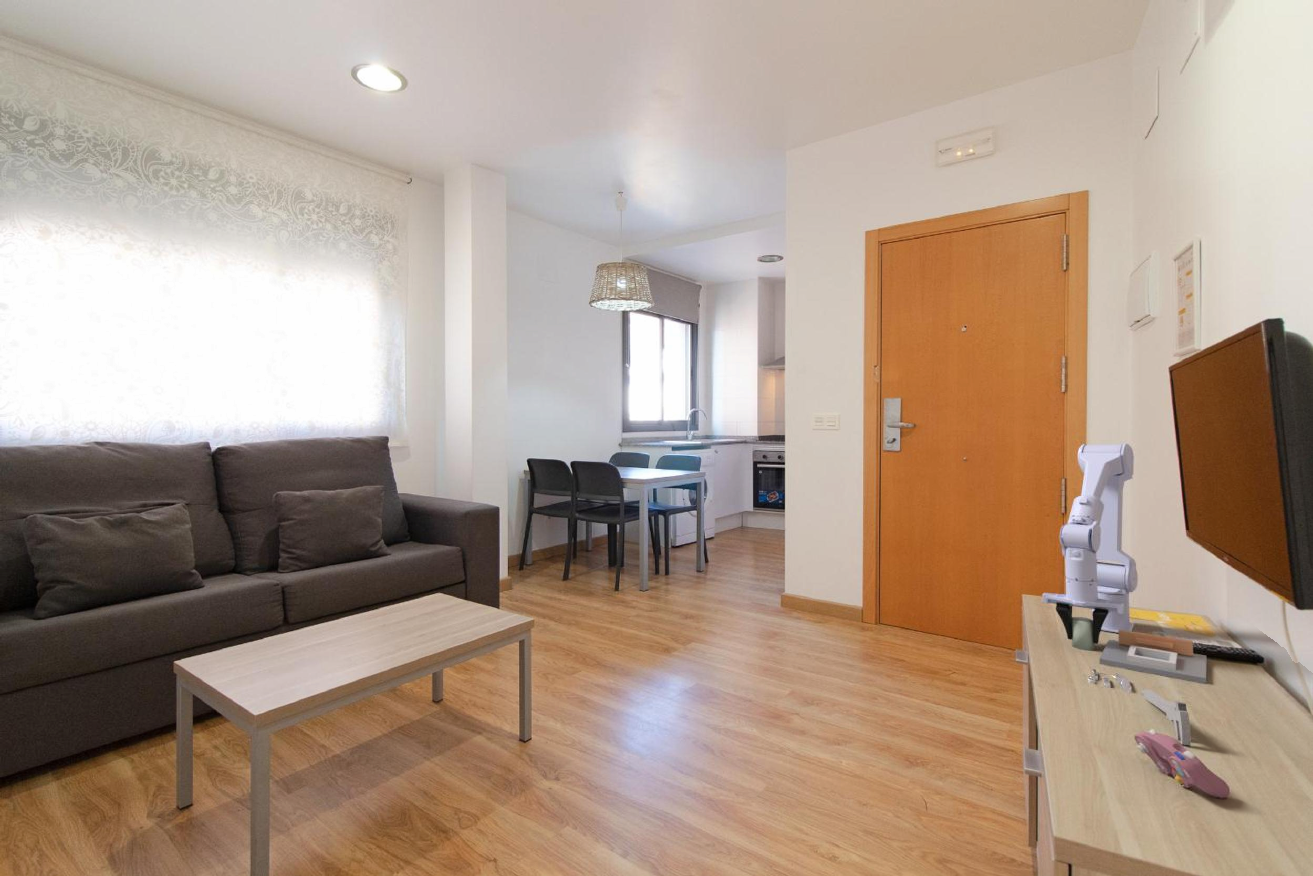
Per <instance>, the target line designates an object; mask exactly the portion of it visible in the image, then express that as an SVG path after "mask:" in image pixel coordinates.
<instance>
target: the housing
mask: <svg viewBox="0 0 1313 876" xmlns="http://www.w3.org/2000/svg"><path fill="white" fill-rule="evenodd" d="M1207 659H1208V658H1207V655H1204V654H1198V653H1194V652H1193V656H1189V655H1183V654H1177V653H1174V652H1168V651H1162V650H1156V649H1150V648H1144V647H1138V646H1132V645H1131V646H1129V645H1123V644H1119V640H1113V639H1108V640H1107V643H1106V644H1105V647H1104V649H1103V651H1102V653H1101V655H1100V657H1099V664H1100V665H1104V666H1111V667H1116V668H1121V669H1126V670H1132V671H1136V672H1141V673H1147V674H1152V675H1157V676H1163V677H1167V678H1174V679H1179V680H1182V681H1183V680H1184V681H1189V682H1195V683H1198V684H1199V683H1200V684H1205V685H1206V684H1207V665H1208V664H1207V661H1208V660H1207Z"/></svg>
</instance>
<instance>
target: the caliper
mask: <svg viewBox="0 0 1313 876" xmlns="http://www.w3.org/2000/svg"><path fill="white" fill-rule="evenodd" d="M1140 693H1141V694H1142V695H1143V697H1144V699H1145V700H1147V701H1148V702H1149V703H1150V704H1152V705H1154V706H1155V707H1157V708H1158V709H1160V710H1161V711H1162V712H1164V713H1165V714H1166V719H1167V720H1169V721H1170V722H1173V725H1174V730H1175V731H1174V732H1175V736H1176V740H1177V741H1179V742H1180V743H1181V744H1182V745H1183V746H1188V747H1189V746H1191V744H1192V743H1191V742H1192V741H1191V739H1192V738H1191V723H1190V716H1189V711H1187V703H1185V702H1183V701H1180V700H1174V702H1173V701H1168V700H1166V699H1164V698H1163V697H1162V696H1160V695H1159V694H1157V693H1155V692H1154V691H1152V690H1151V689H1146V688H1142V690H1141V691H1140Z"/></svg>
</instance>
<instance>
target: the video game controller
mask: <svg viewBox="0 0 1313 876" xmlns="http://www.w3.org/2000/svg"><path fill="white" fill-rule="evenodd" d="M1133 738H1134V740H1135V742H1136V746H1137V749H1138V751H1140V753H1142V754H1144V755H1145V754H1146V755H1147V757H1148V758H1150V759H1151V760H1152V761H1153V763H1154V764H1155V767H1157V768H1158V770H1159V771H1161V772H1162V771H1163V772H1164V773H1163V772H1162V773H1163V774H1165V775H1166V774H1167V775H1170V774H1172V776H1173V777H1174V779H1175V781H1176V782H1177V783H1179V785H1181V784H1182V785H1184V786H1185V787H1187V788H1186V789H1189V788H1191V787H1193V786H1195V787H1197V788H1198V789H1200V790H1201V791H1203V792H1204V793H1205V794H1208V795H1210V796H1212V797H1215V798H1217V797H1220V798H1219V799H1224V798H1223V797H1227V798H1228V797H1229V796H1230V792H1231V791H1230V790H1231V789H1230V786H1229V785H1228V784H1227V782H1226V781H1225V780H1223V779H1222V778H1221V777H1220V776H1218V775H1217V774H1216V773H1214V772H1213V771H1211V770H1210V768H1208V767H1207V766H1206V765H1205V763H1203V761H1202V760H1200V759H1199V758H1198V757H1197V756H1196V755H1194V754H1193V753H1192V752H1191V751H1189V750H1188V749H1187V748H1186V747H1185V746H1184V745H1182V744H1181V741H1178V740H1177V738H1174V737H1172V736H1170V735H1167V734H1163V733H1157V732H1156V731H1155V729H1153V728H1150V730H1149V731H1148V730H1143V731H1141V732H1139V733H1137V734H1135V735H1134V737H1133ZM1182 785H1181V786H1182ZM1184 786H1183V787H1184ZM1185 787H1184V788H1185Z"/></svg>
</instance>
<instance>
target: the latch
mask: <svg viewBox="0 0 1313 876" xmlns="http://www.w3.org/2000/svg"><path fill="white" fill-rule="evenodd" d="M1117 635H1118V641H1119V644H1123V645H1129V646H1131V645H1132V646H1138V647H1144V648H1150V649H1156V650H1162V651H1168V652H1174V653H1177V654H1183V655H1189V656H1193V653H1194V640H1189V639H1183V638H1176V637H1170V636H1165V635H1164V636H1163V635H1157V634H1150V633H1144V632H1138V631H1133V630H1132V631H1126V630H1120V629H1119V631H1118V633H1117Z"/></svg>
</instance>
